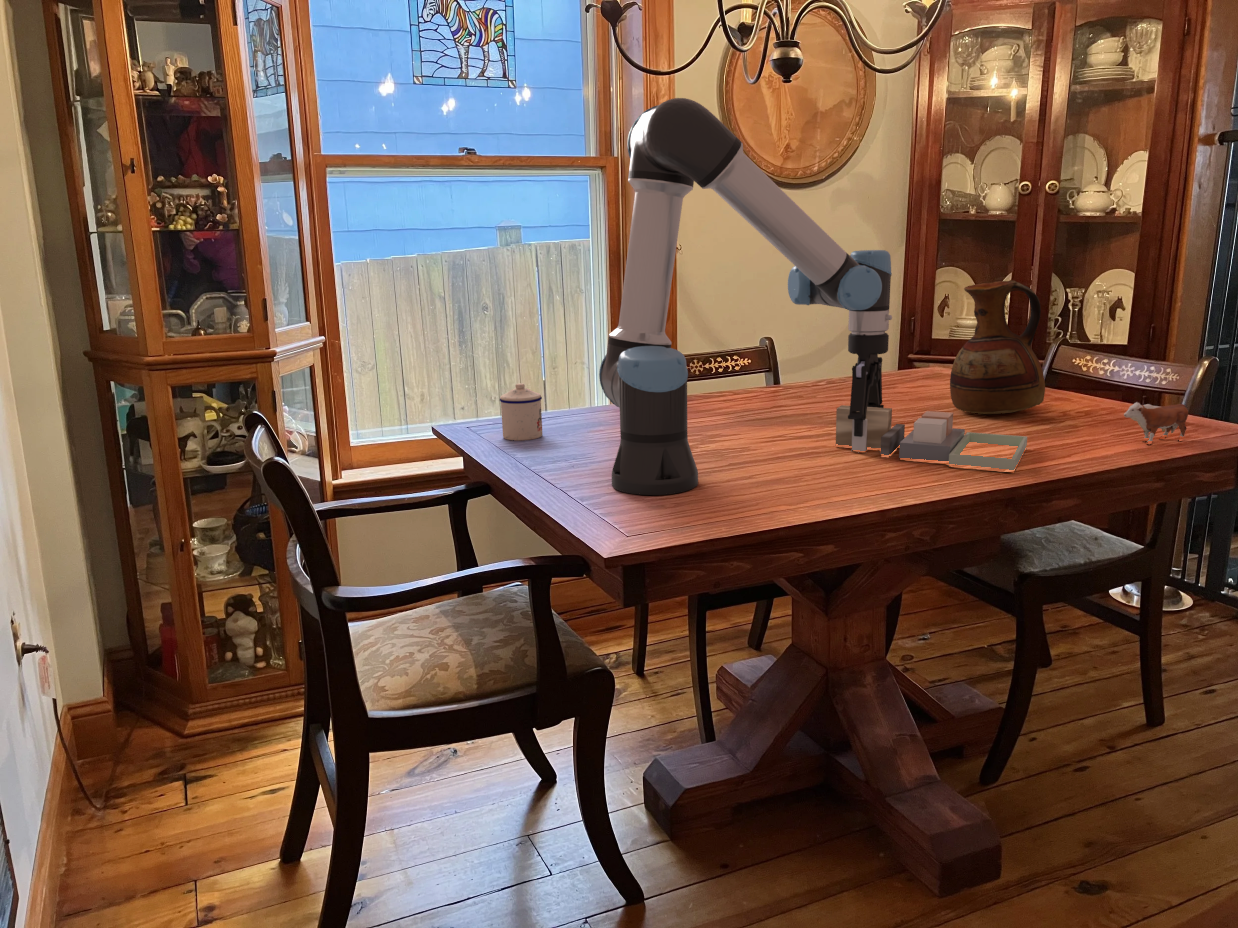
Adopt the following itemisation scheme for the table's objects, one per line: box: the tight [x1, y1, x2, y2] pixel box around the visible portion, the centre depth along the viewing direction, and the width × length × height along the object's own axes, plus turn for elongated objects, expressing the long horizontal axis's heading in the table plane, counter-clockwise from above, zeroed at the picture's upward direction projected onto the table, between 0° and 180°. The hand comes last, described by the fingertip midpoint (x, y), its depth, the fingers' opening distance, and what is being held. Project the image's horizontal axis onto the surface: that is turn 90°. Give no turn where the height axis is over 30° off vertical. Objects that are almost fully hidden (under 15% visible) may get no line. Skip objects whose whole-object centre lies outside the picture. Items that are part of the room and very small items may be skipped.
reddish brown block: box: [921, 410, 954, 436], centre depth 184 cm, size 5×5×4 cm
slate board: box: [898, 427, 966, 461], centre depth 181 cm, size 16×9×4 cm, turn 152°
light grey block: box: [913, 417, 947, 443], centre depth 178 cm, size 5×5×4 cm
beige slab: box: [835, 405, 906, 455], centre depth 187 cm, size 13×12×8 cm
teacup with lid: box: [499, 382, 543, 442], centre depth 207 cm, size 12×9×12 cm
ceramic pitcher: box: [949, 280, 1046, 415], centre depth 214 cm, size 20×20×30 cm
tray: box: [949, 431, 1028, 470], centre depth 177 cm, size 20×11×2 cm, turn 152°
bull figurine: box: [1123, 401, 1189, 442], centre depth 185 cm, size 4×13×8 cm, turn 102°
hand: (865, 446), depth 188 cm, fingers open, 9 cm apart
